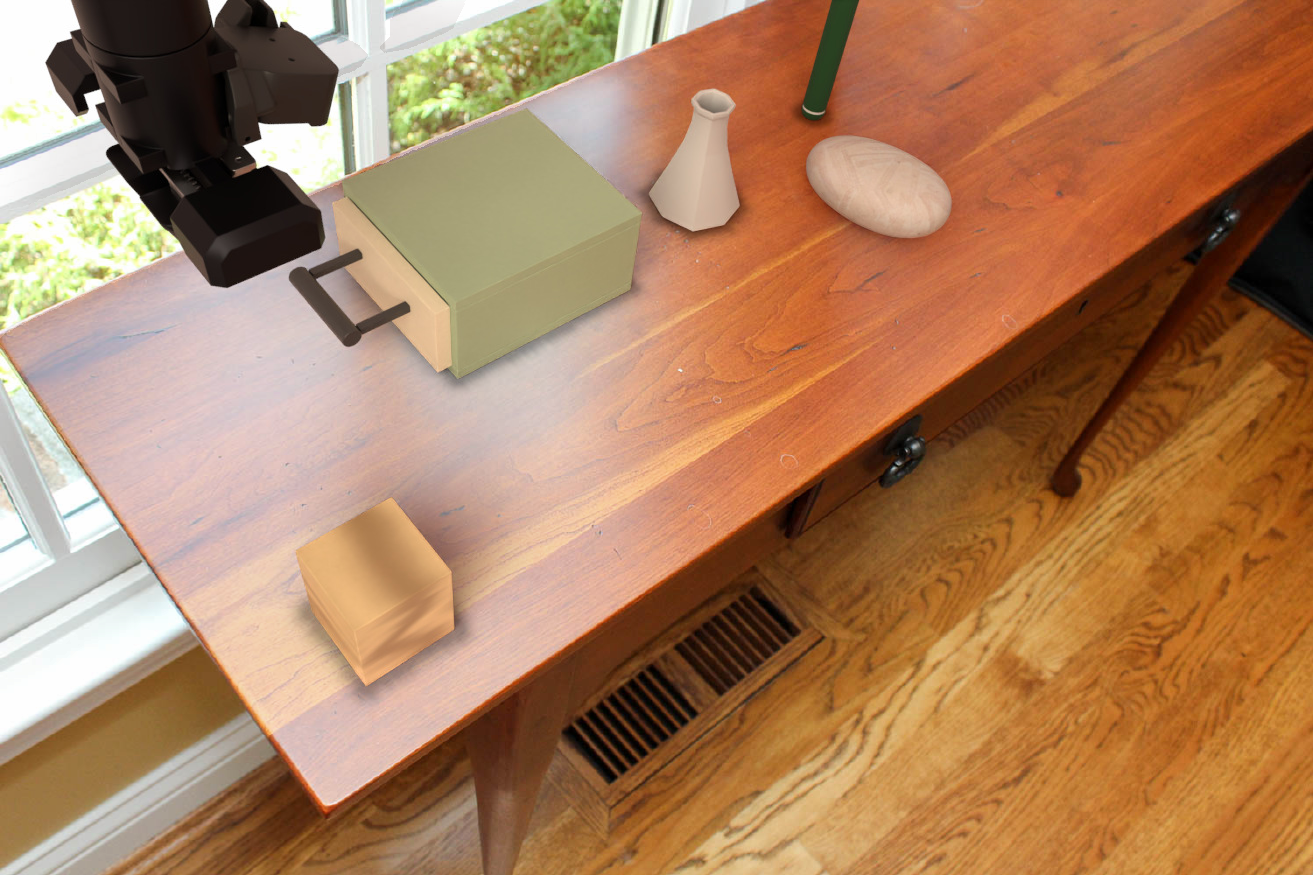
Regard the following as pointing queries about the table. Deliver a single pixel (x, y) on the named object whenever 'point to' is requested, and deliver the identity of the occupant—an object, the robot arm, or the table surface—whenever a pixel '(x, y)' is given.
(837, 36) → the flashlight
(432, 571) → the riser
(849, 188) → the decorative stone
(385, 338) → the table surface
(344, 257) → the drawer
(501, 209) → the cabinet
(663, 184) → the flask
